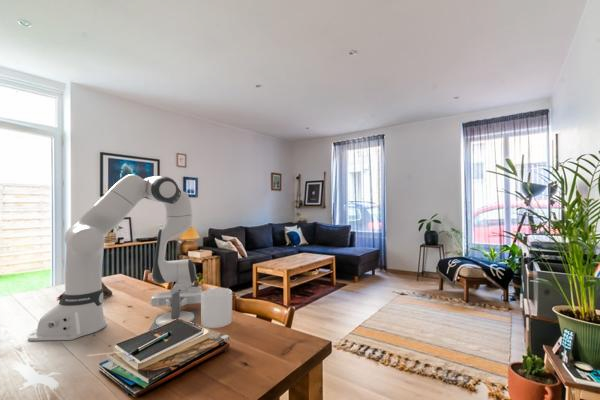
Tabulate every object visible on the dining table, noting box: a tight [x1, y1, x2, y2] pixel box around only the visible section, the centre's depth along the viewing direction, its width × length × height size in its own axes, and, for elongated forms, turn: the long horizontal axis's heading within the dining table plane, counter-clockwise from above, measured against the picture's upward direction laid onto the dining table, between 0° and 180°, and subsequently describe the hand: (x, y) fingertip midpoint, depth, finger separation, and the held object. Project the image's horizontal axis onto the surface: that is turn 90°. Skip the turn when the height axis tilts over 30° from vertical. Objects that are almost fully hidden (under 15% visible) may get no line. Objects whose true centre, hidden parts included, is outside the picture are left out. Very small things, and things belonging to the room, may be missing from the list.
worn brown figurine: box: [102, 281, 113, 299], centre depth 146 cm, size 12×6×18 cm, turn 153°
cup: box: [200, 287, 233, 329], centre depth 117 cm, size 12×12×12 cm
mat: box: [147, 310, 199, 332], centre depth 118 cm, size 16×16×1 cm
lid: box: [155, 291, 194, 326], centre depth 118 cm, size 14×14×11 cm
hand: (175, 304), depth 117 cm, fingers closed on lid, 3 cm apart
